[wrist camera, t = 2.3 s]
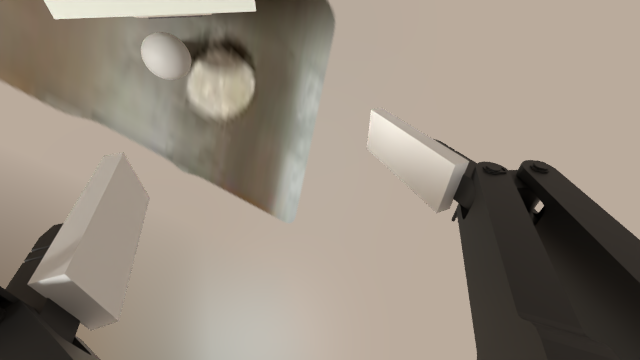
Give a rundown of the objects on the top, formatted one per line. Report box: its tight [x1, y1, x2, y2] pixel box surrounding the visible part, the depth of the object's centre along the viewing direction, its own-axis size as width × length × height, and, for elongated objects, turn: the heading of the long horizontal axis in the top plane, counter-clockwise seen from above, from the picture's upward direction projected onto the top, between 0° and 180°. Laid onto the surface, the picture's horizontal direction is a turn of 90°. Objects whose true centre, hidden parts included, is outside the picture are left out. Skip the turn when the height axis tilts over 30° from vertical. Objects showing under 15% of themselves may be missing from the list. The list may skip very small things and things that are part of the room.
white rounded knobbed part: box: [141, 32, 191, 80], centre depth 37 cm, size 6×6×11 cm
